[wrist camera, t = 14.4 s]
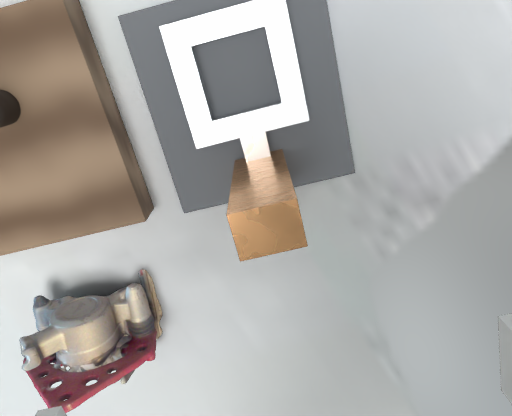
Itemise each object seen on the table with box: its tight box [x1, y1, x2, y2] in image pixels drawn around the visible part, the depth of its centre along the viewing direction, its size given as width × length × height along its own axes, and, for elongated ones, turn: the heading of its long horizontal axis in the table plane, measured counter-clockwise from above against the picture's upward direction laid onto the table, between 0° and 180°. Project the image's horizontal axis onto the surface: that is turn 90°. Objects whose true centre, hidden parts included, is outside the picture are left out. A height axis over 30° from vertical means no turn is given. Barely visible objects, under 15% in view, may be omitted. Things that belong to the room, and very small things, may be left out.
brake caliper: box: [19, 269, 162, 413], centre depth 36 cm, size 11×11×12 cm
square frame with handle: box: [160, 0, 309, 261], centre depth 27 cm, size 14×9×12 cm, turn 14°
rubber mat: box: [118, 0, 355, 213], centre depth 32 cm, size 16×15×1 cm
